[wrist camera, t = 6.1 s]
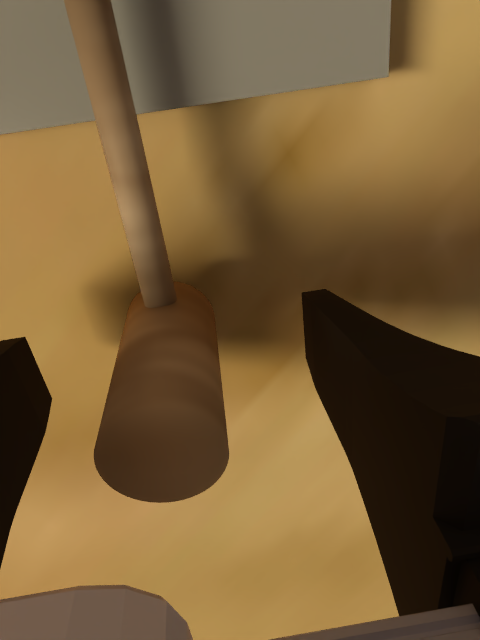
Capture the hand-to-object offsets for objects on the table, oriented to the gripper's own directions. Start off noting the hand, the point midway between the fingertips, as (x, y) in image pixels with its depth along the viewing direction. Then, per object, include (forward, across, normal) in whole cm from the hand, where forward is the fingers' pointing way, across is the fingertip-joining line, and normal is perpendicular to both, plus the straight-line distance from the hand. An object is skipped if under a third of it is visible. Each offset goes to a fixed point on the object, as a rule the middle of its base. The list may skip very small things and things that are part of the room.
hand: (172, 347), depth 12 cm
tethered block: (+1, 0, -6) cm, 6 cm away
